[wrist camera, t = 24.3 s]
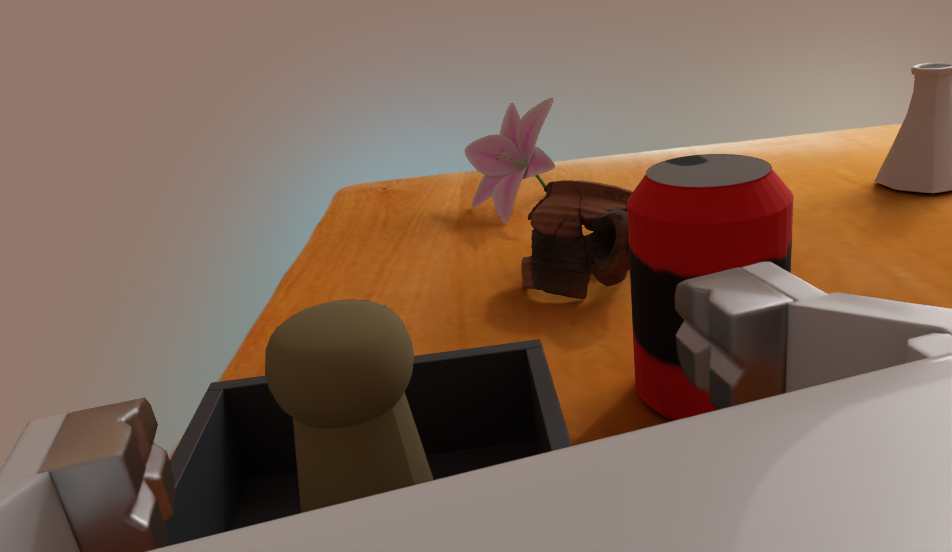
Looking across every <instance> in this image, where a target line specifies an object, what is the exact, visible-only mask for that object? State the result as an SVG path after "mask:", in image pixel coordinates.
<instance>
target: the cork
mask: <svg viewBox="0 0 952 552" xmlns="http://www.w3.org/2000/svg"><path fill="white" fill-rule="evenodd" d="M413 362H414V354H413V348H412V342H411V339H410V337H409V334H408V332H407V330H406V327H405V325H404V323H403V321H402V320H401V319H400V318H399V317H398V316H397V315H396V314H395V313H394V312H393V311H392V310H391V309H389V308H388V307H386V306H385V305H381V304H377V303H374V302H370V301H366V300H340V301H333V302H328V303H323V304H319V305H316V306H313V307H310V308H307V309H305V310H303V311H301V312H299V313H297V314H295V315H293V316H292V317H290V318H289V319H287V320H286V321H285V322H283V323H282V324H281V325H280V326H278V327H277V328H276V330H275V331H274V333H273V334H272V335H271V337H270V340H269V343H268V345H267V348H266V361H265V375H266V379H267V383H268V386H269V389H270V391H271V393H272V395H273V396H274V398H275V400H276V401H277V403H278V404H279V405H280V407H281V408H282V409H283V410H284V412H286V413H287V414H289V415H290V416H291V417H293V425H294V437H295V448H296V460H297V472H298V483H299V495H300V506H301V513H304V512H308V511H312V510H316V509H320V508H324V507H328V506H332V505H336V504H340V503H345V502H349V501H353V500H357V499H361V498H365V497H369V496H373V495H377V494H381V493H385V492H389V491H393V490H397V489H401V488H405V487H409V486H413V485H417V484H421V483H425V482H429V481H433V477H432V474H431V471H430V467H429V464H428V461H427V458H426V455H425V452H424V449H423V446H422V443H421V440H420V437H419V434H418V431H417V428H416V425H415V422H414V419H413V416H412V413H411V410H410V407H409V404H408V401H407V398H406V395H405V390H406V388H407V386H408V384H409V382H410V379H411V375H412V371H413Z"/></svg>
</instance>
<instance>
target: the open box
mask: <svg viewBox="0 0 952 552" xmlns="http://www.w3.org/2000/svg"><path fill="white" fill-rule="evenodd" d="M405 395H406V398H407V401H408V404H409V407H410V410H411V413H412V416H413V419H414V422H415V425H416V428H417V431H418V434H419V437H420V440H421V443H422V446H423V449H424V452H425V455H426V458H427V461H428V464H429V467H430V471H431V474H432V477H433V480H437V479H441V478H446V477H450V476H454V475H458V474H462V473H466V472H470V471H474V470H478V469H482V468H486V467H490V466H494V465H498V464H502V463H506V462H510V461H514V460H518V459H522V458H526V457H530V456H534V455H538V454H542V453H547V452H551V451H555V450H559V449H563V448H567V447H571V446H572V444H571V441H570V438H569V434H568V431H567V428H566V424H565V421H564V418H563V414H562V411H561V408H560V404H559V401H558V398H557V394H556V391H555V388H554V384H553V381H552V377H551V374H550V371H549V367H548V364H547V361H546V357H545V354H544V351H543V348H542V344H541V341H540V340H531V341H524V342H516V343H509V344H501V345H494V346H486V347H478V348H471V349H463V350H456V351H448V352H441V353H433V354H426V355H418V356H414V362H413V371H412V375H411V379H410V382H409V384H408V386H407V388H406V390H405ZM170 464H171V468H172V473H173V478H174V483H175V506H174V512H173V515H172V516H171V517H170V518H169V519H168V520H167V521H166V522H165V526H166V529H167V532H168V535H169V537H168V541H167V546H171V545H175V544H179V543H183V542H187V541H191V540H195V539H199V538H203V537H207V536H211V535H215V534H219V533H223V532H227V531H231V530H235V529H239V528H244V527H248V526H252V525H256V524H260V523H264V522H268V521H272V520H276V519H280V518H284V517H288V516H292V515H296V514H300V513H301V506H300V495H299V483H298V472H297V460H296V448H295V437H294V425H293V417H291V416H290V415H289V414H287V413H286V412H284V410H283V409H282V408H281V407H280V405H279V404H278V403H277V401H276V400H275V398H274V396H273V395H272V393H271V391H270V389H269V386H268V383H267V379H266V376H259V377H252V378H244V379H237V380H229V381H221V382H214V383H211V384H210V386H209V388H208V390H207V392H206V393H205V395H204V397H203V399H202V401H201V403H200V405H199V407H198V409H197V411H196V413H195V414H194V416H193V418H192V420H191V422H190V424H189V426H188V428H187V430H186V432H185V434H184V435H183V437H182V439H181V441H180V443H179V445H178V447H177V449H176V451H175V453H174V455H173V456H172V458H171V460H170ZM167 546H166V547H167Z"/></svg>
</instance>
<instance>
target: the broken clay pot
mask: <svg viewBox="0 0 952 552" xmlns="http://www.w3.org/2000/svg"><path fill="white" fill-rule="evenodd" d="M544 191H545V192H547V193H546V197H545V198H544V199H542V200H540V201H539V203H538V204H537V205H536V206H535V207H534V208H533V210H532V211H531V213H530V214H529V215H528V220H531V225H532V226H533V228H534V230H532V238H531V239H532V246H531V247H532V256H530V257H524V258H523V259H522V278H523V283H522V286H523V287H525V288H531V289H537V290H543V291H544V292H546V293H551V294H555V295H562V296H567V297H572V298H579V299H585V298H586V295H587V285H588V283H589V279H590V275H591V273H593V275H594V276H595V277H596V278H597V280H598V281H599V282H600V283H602V284H604V285H605V286H611V285H614V284H617V283H619V282H621V281H623V280H624V279H625V276H626V273H627V271H628V270H629V269H630V256H629V235H628V214H627V201H628V198H629V197H630V195H631V194H632V193H633V192H632V191H630V190H626V189H622V188H620V187H617V186H613V185H607V184H602V183H596V182H589V181H573V180H567V181H556V182H550V183H548V184H547V186H546V187H545V188H544ZM581 225H584V226H585V228H586V229H588V230H590V231H593V233H591V234H589V235H586V236H584V235H583V233H582V226H581Z"/></svg>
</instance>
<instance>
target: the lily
mask: <svg viewBox="0 0 952 552" xmlns="http://www.w3.org/2000/svg"><path fill="white" fill-rule="evenodd" d="M552 103H553V98H549V99H547V100H544V101H543V102H541V103H540V104H538V105H536V106H535V107H534V108H532V109H531V110H529V111H528V112H527V113H526V114H525V115H524V116H523V117H522V119H521V120H520V117H519V114H518V112H517V110H516V108H515V105H514V104H513V103H511V104H510V105H509V107H508V109H507V111H506V114H505V116H504V120H503V123H502V126H501V131H500V135H489V136H486V137H483V138H480V139H478V140H476V141H474V142H472V143H471V144H470V145H468V146H467V147H466V149H465V154H466V157H467V158H468V160H469V161H470V163H471V164H472V165H473V166H474V167H475V168H476V169H477V170H478V171H479V172H481V173H482V174H485V176H484V177H483V179H482V181H481V182H480V184H479V187H478V189H477V191H476V194H475V196H474V199H473V203H472V208H475V207H477V206H478V205H480V204H481V203H483V202H484V201H485V200H487V199H488V198H490V197H491V196H492V195H493V201H494V205H495V208H496V210H497V213H498V215H499V217H500V219H501V220H502V221H503V223H507V222H508V220H509V218H510V215H511V211H512V208H513V204H514V201H515V197H516V194H517V191H518V188H519V186H520V183H521V181H522V179H524V178H529V177H532V176H536V177H537V179H538V180H539V181H540V183H541V184H542V186H543V187H544V188H545V187H546V185H545V183H544V182H543V180H542V179H541V177H540V176H539V174H542V173H545V172H547V171H550V170H552V169H553V168H554V167H555V165H554V163H553V162H552V160H551V159H550V158H549V157H548V156H547V155H546V154H545V153H544V152H543V151H542V150H541V149H540V148H538V147H536V146H535V144H536V141H537V138H538V135H539V133H540V130H541V127H542V125H543V123H544V121H545V119H546V117H547V114H548V112H549V110H550V108H551V106H552Z"/></svg>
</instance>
